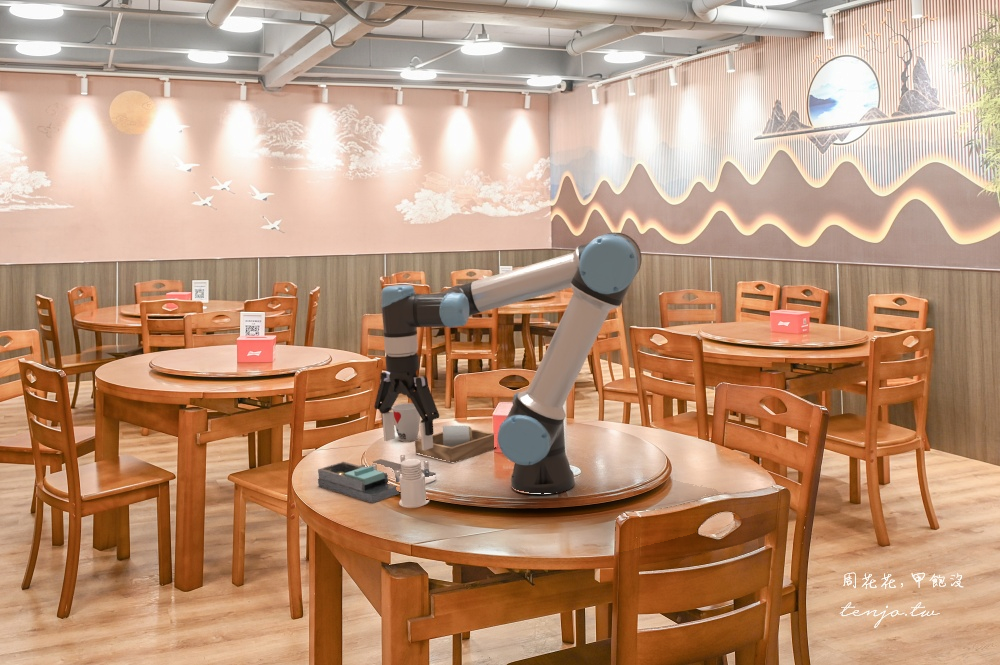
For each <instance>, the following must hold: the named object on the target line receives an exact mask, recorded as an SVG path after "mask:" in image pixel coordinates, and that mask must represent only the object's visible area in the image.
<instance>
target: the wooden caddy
mask: <svg viewBox="0 0 1000 665" xmlns="http://www.w3.org/2000/svg"><path fill="white" fill-rule="evenodd" d="M471 429H472V441H469V442H466V443H463V444H460V445H457V446H454V447H449V446H444V445H443V431H442V432H441V431H440V432H439V433H434V434H433V435H432V436H433V448H430V449H427V450H422V442H421V438H417V439H416V440H414V443H415V444H414V446H415V454H416V453H420V454H423V455H427V456H431V457H434V458H438V459H442V460H446V461H450V462H455V463H457V462H456V461H458V462H460V461H459V460H461V461H463V460H466V459H468V458H472V457H475V456H477V455H481V454H483V453H486V452H490V451H492V450H495V449H494V434H495V433H493V432H489V431H483V430H478V429H473V428H471Z"/></svg>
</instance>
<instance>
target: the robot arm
mask: <svg viewBox="0 0 1000 665" xmlns="http://www.w3.org/2000/svg"><path fill="white" fill-rule="evenodd" d="M641 251H642V250H641V249H640V246H639V244H638V243H637V242H636V240H634V239H633V238H632V237H631V236H629V235H628V234H625V233H622V232H615V231H614V232H609V233H608V232H607V233H606V234H602V235H599V236H597V237H595V238H594V239H592V240H591V241H590V242H588V243H585V244H582V245H579V246H576V247H575V250H574V251H573V252H570V253H567V254H563V255H559V256H557V257H552V258H551V259H546V260H543V261H538V262H536V263H533V264H528V265H525V266H523V267H519V268H515V269H512V270H509V271H505V272H501V273H498V274H495V275H491V276H488V277H485V278H480V279H477V280H474V281H470V282H466V283H464V284H459V285H458V284H457V285H454V286H452V287H450V288H448V289H446V290H443V291H441V292H438V293H416V291H415V288H414V286H413V285H412V284H411V285H410V284H397V285H395V284H394V285H388V286H385V287H384V288H382V290H381V305H380V307H381V308H380V309H381V314H382V327H383V341H384V342H383V344H384V345H383V346H384V353H385V354H386V356H385V370H386V371H382V372H380V381H379V382H380V384H379V387H378V391H377V395H376V399H375V401H374V402H375V403H374V407H373V408H374V409H375V410H379V413H380V416H381V424H382V428H383V440H384V442H388V441H389V442H390V441H392V440H395V439H396V433H395V432H396V428H395V423H394V416H393V409H392V407H393V406H394V404H395V402H396V401H397V399H398V397H399V395H400V394H402V395H403V396H406V397H407V398H408V399H410V400H411V403H413V404H414V406H415V408H416V409H417V411H418V413H419V415H420V425H419V428H420V436H421V438H420V439H421V442H422V450H427V449H430V448H433V436H432V435H434V420H436V419H440V414H439V410H438V408H437V405H436V403H435V401H434V397H433V395H432V393H431V390H430V388H429V382H428V377H427V376H426V375H423V376H420V377H419V376H418V375H417V374H418V373H417V372H418V370H419V369H420V356H419V354H418V350H419V344H418V328H450V329H451V328H455V327H456V328H457V327H463V326H464V327H465V326H466V324H468V320H469V318H470V316H474V315H477V314H480V313H483V312H488V311H491V310H494V309H498V308H502V307H506V306H508V305H512V304H517V303H521V302H524V301H527V300H531V299H535V298H537V297H541V296H545V295H550V294H553V293H556V292H560V291H563V290H567V289H572V295H571V297H570V300H569V303H568V304H567V306H566V309H565V310H564V312H563V315H562V317H561V318H560V320H559V323H558V325H557V327H556V329H555V331H554V334H553V335H552V338H551V340H550V342H549V344H548V347H547V349H546V350H545V352H544V354H543V357H542V359H541V361H540V363H539V365H538V367H537V369H536V371H535V373H534V376H533V378H532V380H531V382H530V384H529V386H528V388H527V389H526V390H523V391H519V392H516V393H514V394H513V397H512V399H513V401H512V406H511V408H510V410H509V412H508V414H507V417H506V418H505V419H504V420H503V422H501V423H500V425H499V428H498V433H497V445H498V447H499V449H500V451H501V453H502V454H503V456H504V457H505V458H506V459H507V460H509V461H510V462H512V463H514V465H513V471H512V474H511V476H510V483H511V486H512V487H513V488H514V489H516V490H519V491H524V492H529V493H541V494H544V493H556V492H561V493H563V492H562V491H564V492H566V490H567V491H569V490H571V489H572V488H573V487H574V486H575V475H574V471H573V470H572V468H571V466H570V462H569V459H568V457H567V453H566V441H565V423H564V422H565V418H566V412H565V409H564V405H565V403H566V401H567V398H568V396H569V394H570V392H571V390H572V388H573V387H574V384H575V383H576V381H577V378H578V377H579V374H580V372H581V370H582V368H583V366H584V364H585V362H586V360H587V358H588V356H589V355H590V352H591V350H592V348H593V346H594V344H595V342H596V340H597V338H598V336H599V334H600V332H601V330H602V327H603V325H604V323H605V321H606V319H607V317H608V316H609V313H610V311H611V310H615V309H618V308H619V307H620V306H621V304H622V302H623V301H624V299H625V296H626V295H627V293H628V291H629V289H630V287H631V284H632V283H633V281H634V280H635V277H636V276H637V274H638V273H639V271H640V270H641V266H642V261H643V260H642V258H643V257H642V252H641ZM511 486H510V487H511ZM512 487H511V488H512Z"/></svg>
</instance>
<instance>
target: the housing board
mask: <svg viewBox="0 0 1000 665" xmlns="http://www.w3.org/2000/svg"><path fill="white" fill-rule="evenodd" d="M399 457H400V463H397V462H394V461H389V460H386V459H377V460H373V461H372V462H373V463H377V464H381V465H384V466H385V467H390V468H392V469H393V470H394V473H395V478H396V482H400V479H399V477H400V474H402V472H401V462H402V461H404V460H406V455H405V454H401V455H400V456H399ZM429 462H430V461H429V460H424V461H423V468H424V469H422V468H421V471H422V473H423V474H424V475H425V477H429V476H433V475H436V476H437V473H436V472H434V471H430V463H429ZM372 466H373V468H374V470H377V465H376V464H372ZM363 467H365V465H364V464H362V465H361V464H360V465H358V464H354V463H351V462H346V461H341V462H338V463H335V464H331V465H328V466H325V467H321V468H318V469H317V471H318V478H317V481H318V482H317V484H318V487H319V488H322V489H325V490H328V491H331V492H335V493H338V494H341V495H344V496H347V497H351V498H354V499H358V500H360V501H364V502H367V503H371V504H375V503H378V502H380V501H383V500H386V499H389V498H392V497H394V496H397V495H399V494H400V495H401V493H399V491H397V490H396V487H397V486H393V485H390V484H387V482H388V475H387V473H384V475H385V478H384V479H381V480H378V481H375V482H372V483H369V484H366V485H365V484H364V481H362V480H359V479H355V478H352V477H348V476H345V474H344V473H347V472H350V471H353V470H356V469H359V468H363ZM392 472H393V471H392Z"/></svg>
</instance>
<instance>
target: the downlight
mask: <svg viewBox="0 0 1000 665" xmlns="http://www.w3.org/2000/svg"><path fill="white" fill-rule="evenodd" d="M421 462H422V461H421V460H420V459H418V458H408V459H405V460H404V461H402V462H401V461H400V464H401V472H402V475H401V476H400V477H399V479H400V490H401V493H400V500H399V501H398V504H399V506H400V507H402V508H406V509H407V508H408V509H412V508H413V509H414V508H415V509H416V508H420V507H423V506H425V505H427V504H429V503H430V499H429V500H426V497H427V491H426V490H427V489H426V485H425V475H424V474H423V473H422V471H421V469H422V464H421Z"/></svg>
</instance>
